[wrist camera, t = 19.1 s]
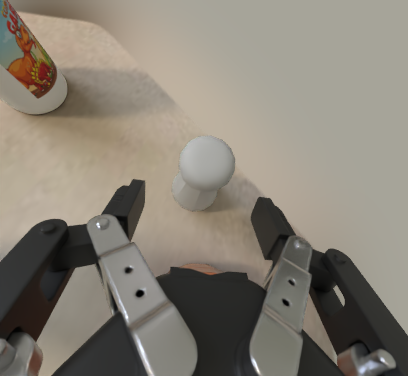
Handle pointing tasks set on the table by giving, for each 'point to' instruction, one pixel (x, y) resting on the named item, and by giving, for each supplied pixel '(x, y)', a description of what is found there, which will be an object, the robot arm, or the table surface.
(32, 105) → the milk bottle
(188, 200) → the salt shaker
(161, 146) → the table surface
